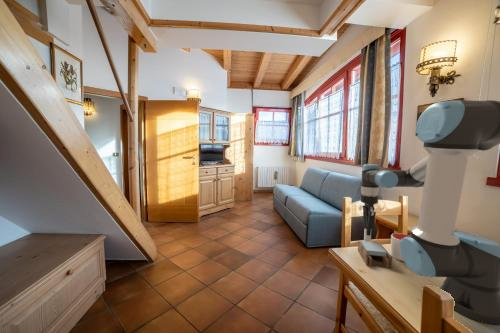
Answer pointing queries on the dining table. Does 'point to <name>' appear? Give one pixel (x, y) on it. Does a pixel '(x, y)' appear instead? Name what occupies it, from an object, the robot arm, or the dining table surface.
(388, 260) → the walnut box
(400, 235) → the cup
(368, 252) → the cover slab
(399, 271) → the dining table surface
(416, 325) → the dining table surface
